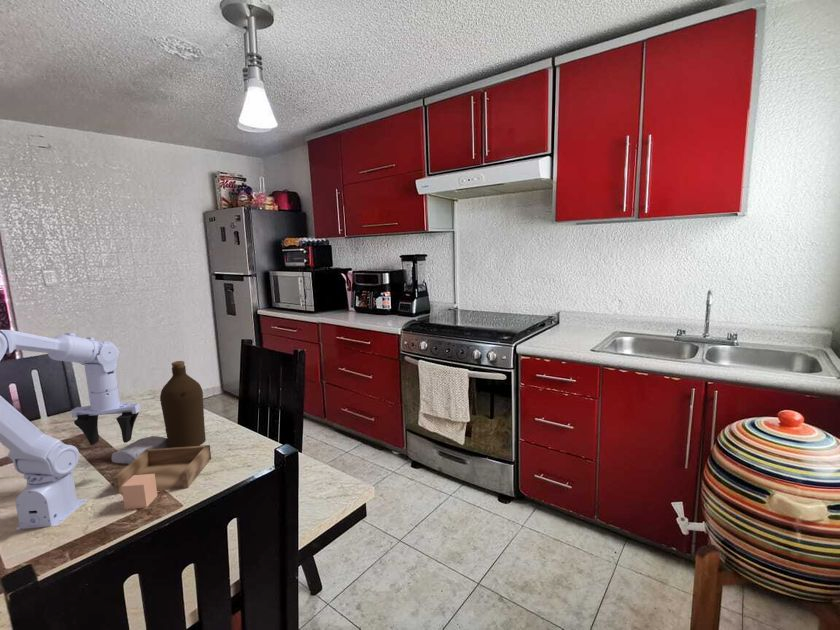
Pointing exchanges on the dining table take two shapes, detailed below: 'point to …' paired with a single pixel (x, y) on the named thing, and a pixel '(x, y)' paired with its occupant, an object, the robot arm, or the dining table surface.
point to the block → (139, 491)
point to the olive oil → (183, 409)
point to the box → (167, 467)
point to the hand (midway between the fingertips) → (111, 442)
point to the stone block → (139, 449)
